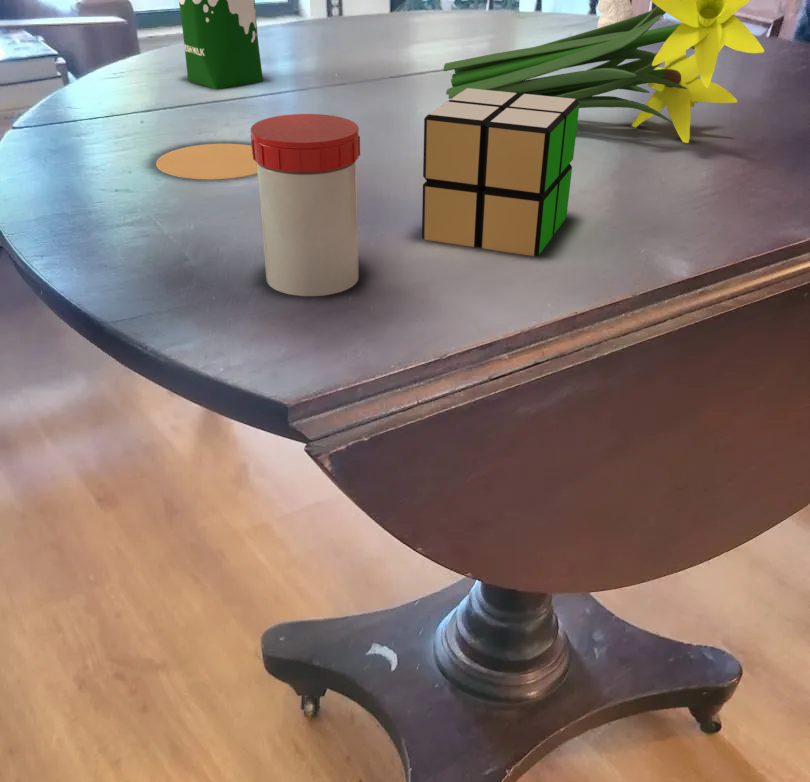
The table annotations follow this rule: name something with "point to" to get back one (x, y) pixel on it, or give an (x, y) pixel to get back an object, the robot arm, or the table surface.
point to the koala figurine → (614, 11)
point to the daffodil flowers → (675, 83)
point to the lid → (305, 142)
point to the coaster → (209, 161)
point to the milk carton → (221, 42)
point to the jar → (309, 229)
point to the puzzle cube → (498, 170)
